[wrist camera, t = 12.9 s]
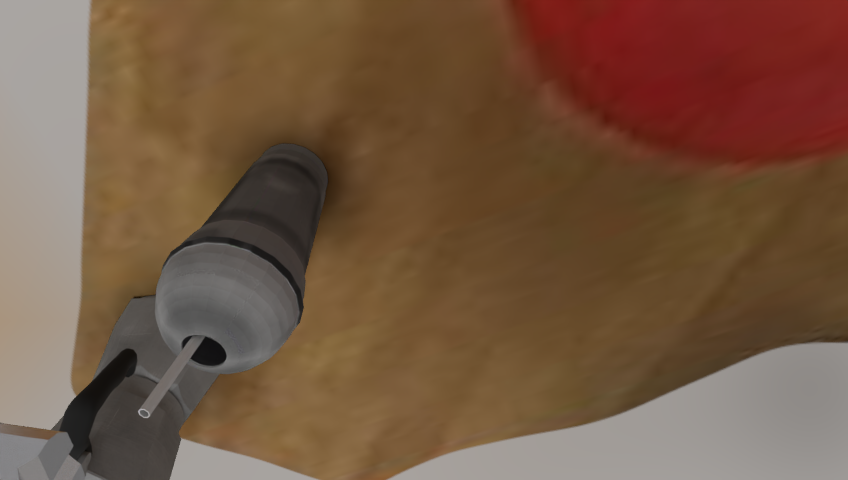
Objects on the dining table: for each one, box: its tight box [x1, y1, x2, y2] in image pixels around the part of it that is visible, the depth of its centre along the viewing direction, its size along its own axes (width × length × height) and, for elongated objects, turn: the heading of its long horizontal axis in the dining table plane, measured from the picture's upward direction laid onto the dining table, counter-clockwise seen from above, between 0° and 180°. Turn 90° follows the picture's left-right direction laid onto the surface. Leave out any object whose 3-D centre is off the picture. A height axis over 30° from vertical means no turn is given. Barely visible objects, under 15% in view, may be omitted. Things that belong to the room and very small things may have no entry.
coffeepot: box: [51, 295, 219, 480], centre depth 48 cm, size 15×9×18 cm, turn 167°
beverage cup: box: [138, 144, 328, 418], centre depth 37 cm, size 7×7×20 cm
